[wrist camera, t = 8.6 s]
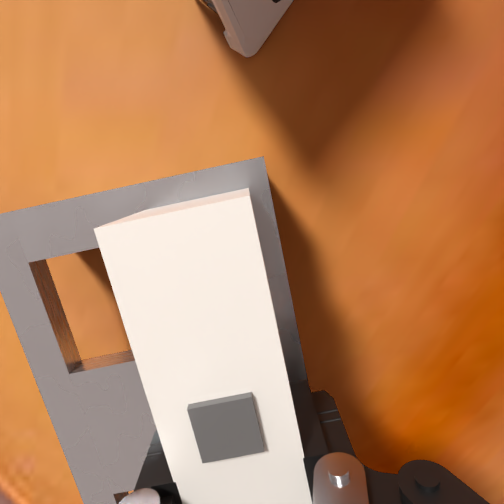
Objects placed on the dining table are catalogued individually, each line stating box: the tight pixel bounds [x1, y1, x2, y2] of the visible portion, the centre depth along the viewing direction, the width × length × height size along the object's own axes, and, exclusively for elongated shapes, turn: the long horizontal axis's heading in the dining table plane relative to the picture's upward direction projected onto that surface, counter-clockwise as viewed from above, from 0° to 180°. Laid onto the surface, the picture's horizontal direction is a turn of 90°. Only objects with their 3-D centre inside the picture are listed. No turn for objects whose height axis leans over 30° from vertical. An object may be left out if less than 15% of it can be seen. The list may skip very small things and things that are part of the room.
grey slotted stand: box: [0, 156, 308, 504], centre depth 16 cm, size 10×18×5 cm, turn 12°
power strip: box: [94, 188, 312, 504], centre depth 13 cm, size 16×4×8 cm, turn 12°
